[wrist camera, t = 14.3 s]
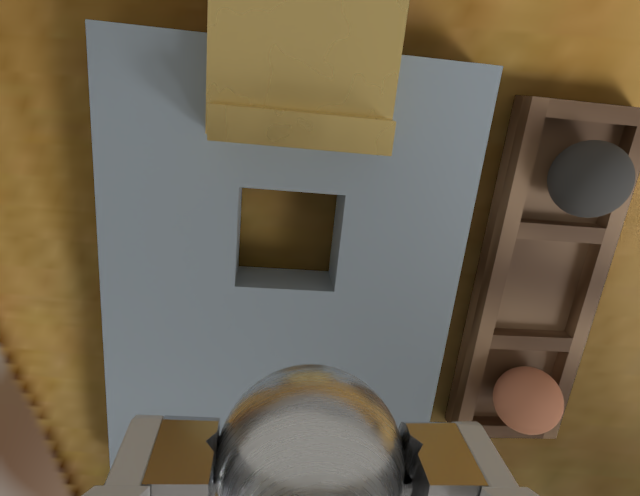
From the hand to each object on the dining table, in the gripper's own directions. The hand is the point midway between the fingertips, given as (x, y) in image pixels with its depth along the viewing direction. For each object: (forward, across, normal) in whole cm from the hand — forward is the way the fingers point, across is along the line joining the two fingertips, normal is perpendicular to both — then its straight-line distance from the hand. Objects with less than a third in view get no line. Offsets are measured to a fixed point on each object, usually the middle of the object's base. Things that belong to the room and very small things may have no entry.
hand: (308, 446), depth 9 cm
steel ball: (+1, 0, 0) cm, 1 cm away
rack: (+15, -13, +2) cm, 20 cm away
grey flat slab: (+15, 0, +3) cm, 15 cm away
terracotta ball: (+14, -13, +8) cm, 21 cm away
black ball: (+14, -13, -4) cm, 20 cm away
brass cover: (+12, 0, -8) cm, 15 cm away
